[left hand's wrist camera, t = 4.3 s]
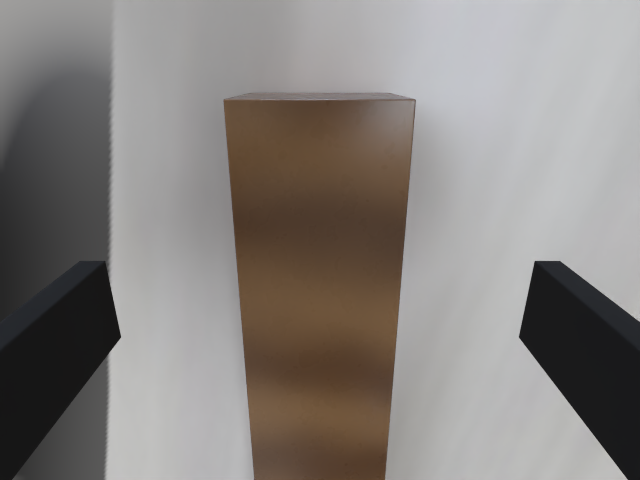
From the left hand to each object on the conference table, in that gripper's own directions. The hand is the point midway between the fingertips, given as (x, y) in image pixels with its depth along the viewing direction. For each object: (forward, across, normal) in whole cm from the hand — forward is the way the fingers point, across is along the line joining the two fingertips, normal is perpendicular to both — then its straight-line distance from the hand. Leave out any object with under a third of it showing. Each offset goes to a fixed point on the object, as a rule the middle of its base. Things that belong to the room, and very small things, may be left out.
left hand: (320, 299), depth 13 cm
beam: (+15, 0, -26) cm, 31 cm away
